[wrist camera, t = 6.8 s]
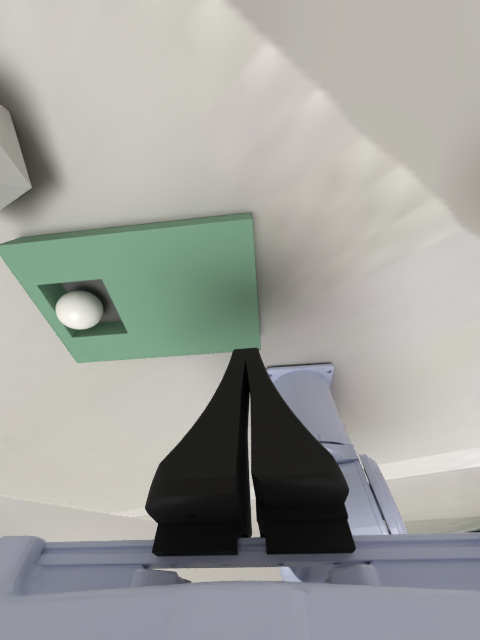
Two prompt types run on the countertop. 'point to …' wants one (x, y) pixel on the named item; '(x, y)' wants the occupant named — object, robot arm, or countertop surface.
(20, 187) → the die
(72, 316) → the ball
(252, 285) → the green
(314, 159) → the countertop surface
